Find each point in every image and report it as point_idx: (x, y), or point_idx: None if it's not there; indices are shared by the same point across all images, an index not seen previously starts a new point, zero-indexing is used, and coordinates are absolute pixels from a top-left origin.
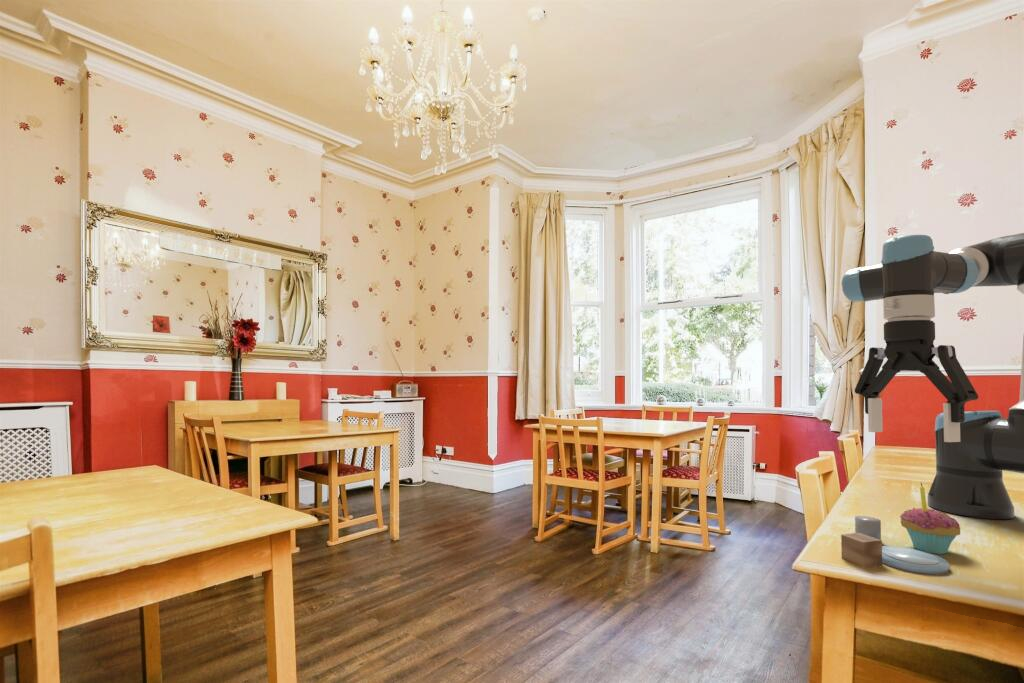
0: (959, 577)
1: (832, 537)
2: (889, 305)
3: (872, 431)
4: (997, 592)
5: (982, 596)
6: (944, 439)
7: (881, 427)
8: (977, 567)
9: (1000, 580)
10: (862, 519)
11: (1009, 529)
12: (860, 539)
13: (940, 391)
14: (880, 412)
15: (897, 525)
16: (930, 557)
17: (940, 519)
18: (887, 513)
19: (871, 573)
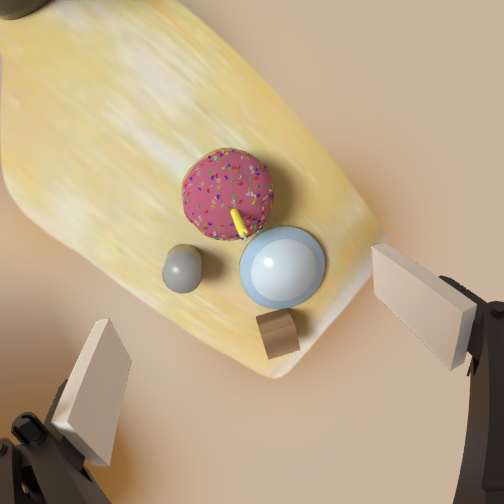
0: (332, 241)
1: (175, 307)
2: None
3: (131, 361)
4: (370, 235)
5: None
6: (378, 297)
7: (107, 333)
8: (302, 182)
9: (344, 196)
10: (186, 287)
11: None
12: (289, 347)
13: (470, 407)
14: (93, 377)
15: (93, 145)
16: (294, 248)
17: (264, 204)
18: (28, 114)
19: (310, 334)
